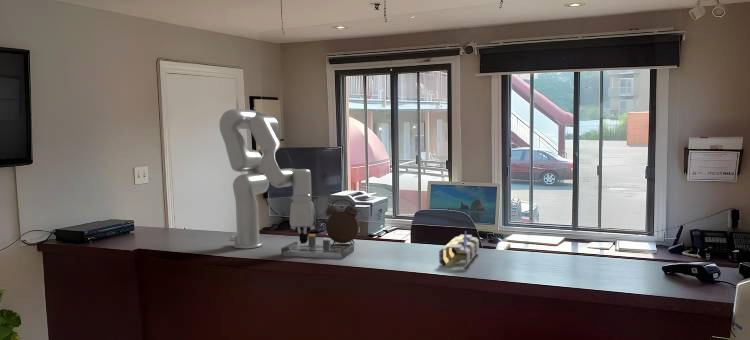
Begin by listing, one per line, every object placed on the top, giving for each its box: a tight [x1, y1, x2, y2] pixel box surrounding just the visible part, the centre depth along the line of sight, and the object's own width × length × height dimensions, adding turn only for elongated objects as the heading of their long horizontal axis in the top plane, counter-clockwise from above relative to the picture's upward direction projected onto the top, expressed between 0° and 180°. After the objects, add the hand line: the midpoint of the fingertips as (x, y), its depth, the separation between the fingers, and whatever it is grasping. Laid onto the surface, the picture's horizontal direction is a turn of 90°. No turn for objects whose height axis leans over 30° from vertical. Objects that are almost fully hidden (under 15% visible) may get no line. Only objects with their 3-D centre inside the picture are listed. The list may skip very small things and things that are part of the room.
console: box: [280, 241, 355, 260], centre depth 223 cm, size 26×14×3 cm, turn 75°
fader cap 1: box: [307, 233, 317, 246], centre depth 227 cm, size 2×2×5 cm
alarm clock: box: [325, 198, 360, 246], centre depth 241 cm, size 15×7×20 cm, turn 84°
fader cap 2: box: [322, 237, 331, 251], centre depth 218 cm, size 2×2×5 cm
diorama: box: [438, 230, 480, 269], centre depth 207 cm, size 25×10×13 cm, turn 160°
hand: (303, 242), depth 228 cm, fingers closed
